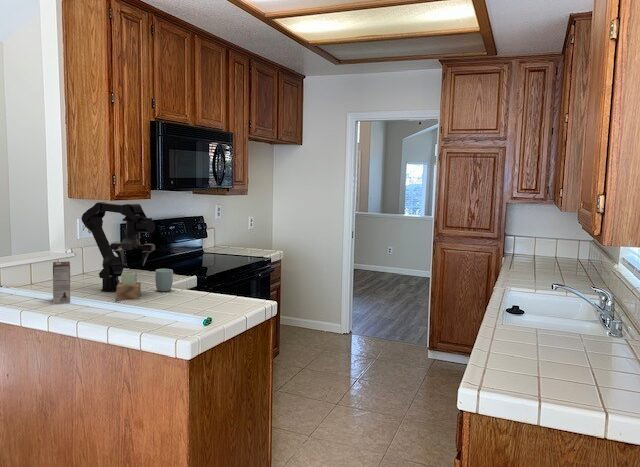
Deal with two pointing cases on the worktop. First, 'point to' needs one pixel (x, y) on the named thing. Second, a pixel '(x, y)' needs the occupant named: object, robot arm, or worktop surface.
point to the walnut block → (128, 291)
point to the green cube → (129, 278)
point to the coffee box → (61, 282)
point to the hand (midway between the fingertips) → (132, 265)
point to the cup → (164, 279)
